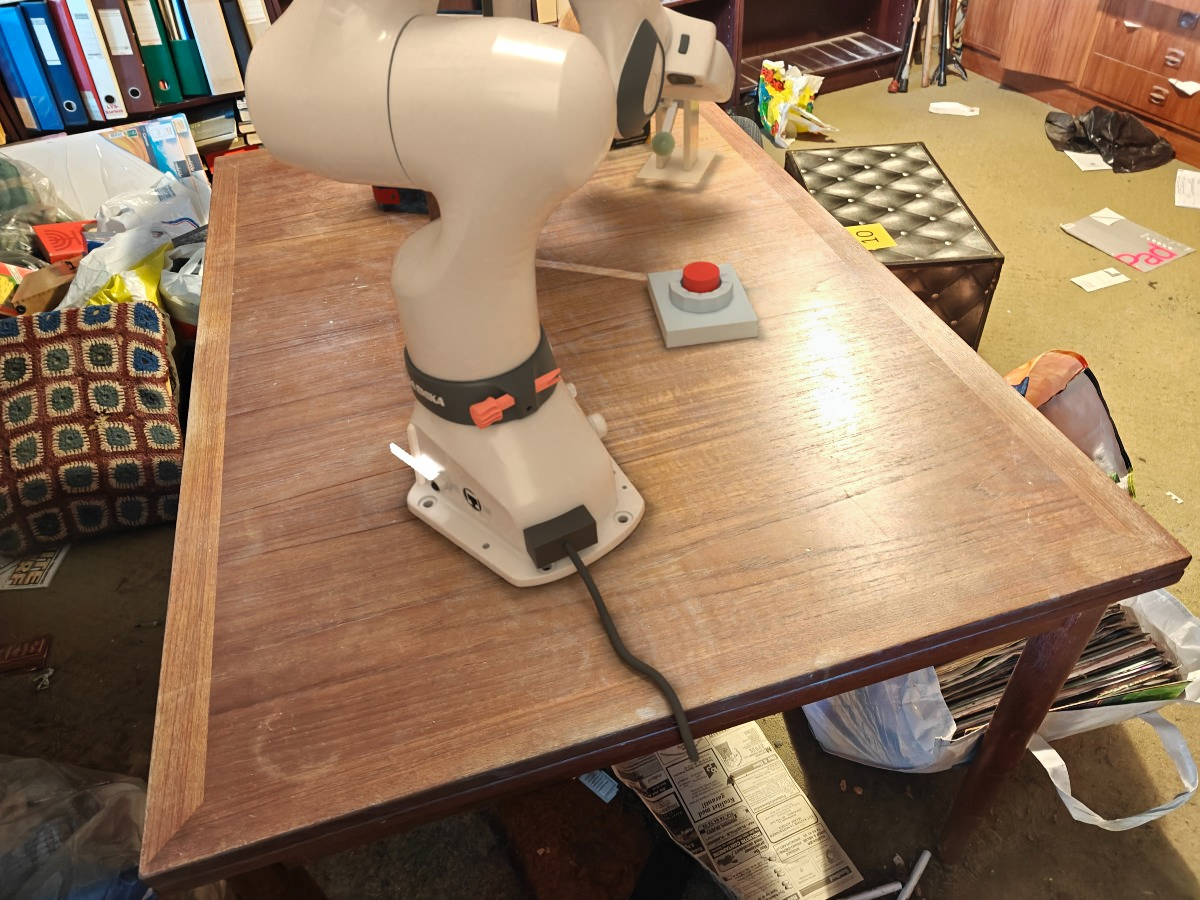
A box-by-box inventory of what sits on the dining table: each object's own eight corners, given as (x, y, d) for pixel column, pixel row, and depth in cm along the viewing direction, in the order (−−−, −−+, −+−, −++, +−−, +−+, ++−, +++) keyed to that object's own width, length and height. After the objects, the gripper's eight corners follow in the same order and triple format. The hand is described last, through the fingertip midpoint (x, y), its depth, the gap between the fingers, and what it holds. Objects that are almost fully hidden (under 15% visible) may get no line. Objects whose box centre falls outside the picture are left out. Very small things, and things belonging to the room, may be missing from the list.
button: (722, 292, 93) (723, 278, 92) (686, 296, 93) (686, 282, 92) (714, 273, 96) (715, 259, 95) (679, 277, 96) (679, 263, 95)
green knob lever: (673, 162, 115) (669, 147, 112) (650, 160, 116) (646, 145, 113) (692, 94, 117) (689, 77, 114) (670, 92, 118) (666, 76, 115)
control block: (757, 336, 93) (759, 305, 90) (666, 348, 92) (666, 317, 89) (730, 279, 102) (732, 249, 99) (647, 289, 101) (646, 259, 98)
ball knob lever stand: (697, 191, 119) (699, 98, 110) (635, 184, 121) (632, 93, 112) (717, 157, 126) (720, 68, 117) (658, 152, 129) (657, 64, 120)
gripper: (546, 67, 100) (582, 119, 113) (717, 79, 94) (733, 132, 107) (557, 15, 100) (591, 72, 113) (728, 23, 94) (743, 82, 107)
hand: (662, 101), depth 110 cm, fingers closed
